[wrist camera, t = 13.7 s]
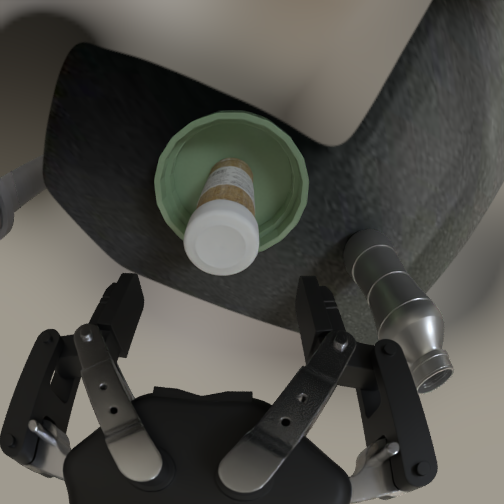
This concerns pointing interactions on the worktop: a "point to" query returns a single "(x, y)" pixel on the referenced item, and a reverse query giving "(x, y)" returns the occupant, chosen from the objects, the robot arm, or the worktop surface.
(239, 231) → the sprinkles bottle
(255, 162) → the bowl
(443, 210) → the worktop surface
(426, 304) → the plastic bottle
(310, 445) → the robot arm
